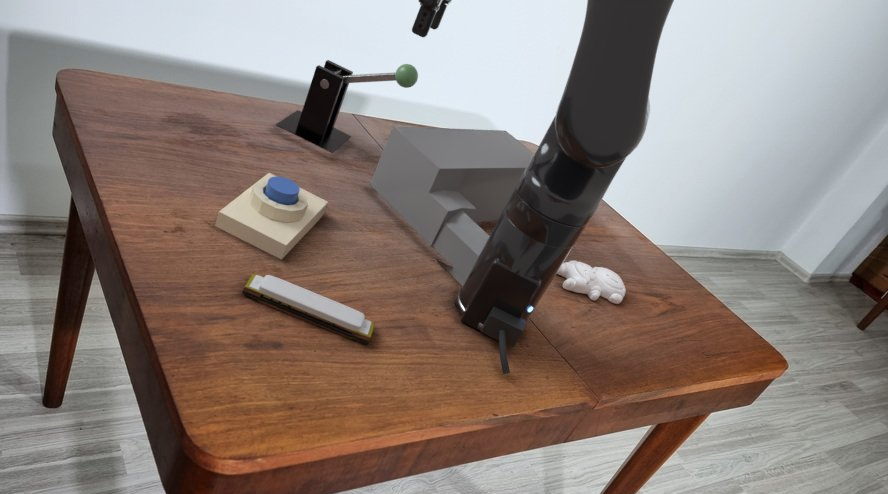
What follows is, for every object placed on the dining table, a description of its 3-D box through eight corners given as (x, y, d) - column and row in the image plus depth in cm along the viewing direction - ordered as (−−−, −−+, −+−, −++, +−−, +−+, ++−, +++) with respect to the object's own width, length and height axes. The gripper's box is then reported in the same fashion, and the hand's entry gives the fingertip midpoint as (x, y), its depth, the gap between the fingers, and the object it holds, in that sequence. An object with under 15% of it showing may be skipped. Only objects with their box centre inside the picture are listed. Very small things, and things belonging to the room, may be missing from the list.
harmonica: (241, 296, 76) (245, 281, 75) (250, 281, 79) (254, 267, 78) (366, 347, 77) (372, 333, 76) (371, 330, 80) (377, 317, 79)
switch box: (281, 260, 84) (290, 232, 82) (214, 226, 85) (222, 198, 83) (323, 215, 96) (332, 190, 94) (264, 186, 96) (272, 160, 94)
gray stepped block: (463, 289, 94) (499, 222, 88) (367, 190, 106) (392, 126, 101) (572, 269, 110) (608, 212, 104) (478, 186, 123) (505, 130, 117)
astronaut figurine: (546, 259, 110) (555, 244, 108) (610, 276, 113) (620, 261, 112) (564, 294, 103) (574, 278, 101) (632, 311, 107) (643, 296, 105)
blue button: (287, 210, 87) (292, 198, 86) (259, 195, 87) (262, 183, 86) (300, 198, 90) (304, 186, 89) (272, 184, 90) (276, 172, 89)
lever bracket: (349, 142, 118) (373, 76, 111) (330, 159, 110) (354, 90, 104) (295, 116, 118) (316, 49, 112) (273, 131, 111) (294, 60, 104)
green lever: (421, 84, 107) (419, 61, 105) (415, 89, 104) (413, 65, 103) (328, 89, 112) (325, 66, 110) (320, 94, 109) (317, 71, 107)
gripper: (490, -78, 86) (436, 51, 95) (506, -81, 99) (457, 33, 107) (434, -104, 87) (386, 27, 96) (458, -104, 99) (413, 12, 108)
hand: (424, 30), depth 102 cm, fingers open, 6 cm apart
